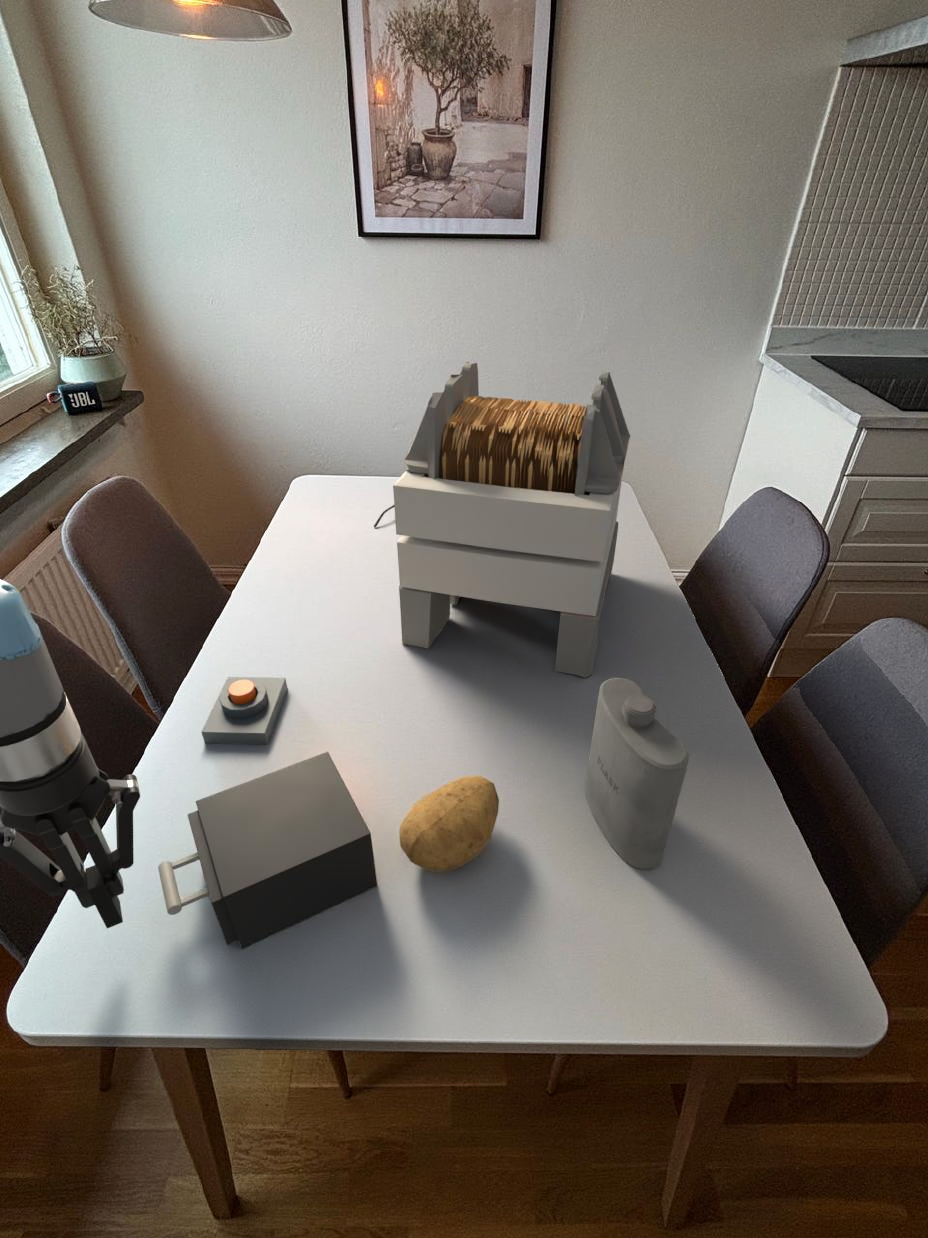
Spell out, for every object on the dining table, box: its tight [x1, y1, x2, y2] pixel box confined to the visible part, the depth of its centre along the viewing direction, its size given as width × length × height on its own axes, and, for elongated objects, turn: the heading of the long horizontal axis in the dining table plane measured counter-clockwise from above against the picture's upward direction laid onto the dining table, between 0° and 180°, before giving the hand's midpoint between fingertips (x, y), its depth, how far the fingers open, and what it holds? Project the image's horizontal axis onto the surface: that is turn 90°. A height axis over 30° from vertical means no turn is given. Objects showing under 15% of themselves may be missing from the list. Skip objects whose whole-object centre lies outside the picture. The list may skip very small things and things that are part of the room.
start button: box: [229, 680, 256, 704], centre depth 99 cm, size 4×4×2 cm
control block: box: [200, 676, 288, 745], centre depth 101 cm, size 12×9×4 cm
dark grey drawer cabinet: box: [195, 751, 378, 950], centre depth 77 cm, size 16×14×10 cm
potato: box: [398, 775, 500, 873], centre depth 81 cm, size 10×14×8 cm
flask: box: [584, 677, 690, 870], centre depth 80 cm, size 15×6×20 cm, turn 17°
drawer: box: [157, 809, 239, 946], centre depth 76 cm, size 19×12×8 cm, turn 119°
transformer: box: [392, 361, 631, 678], centre depth 113 cm, size 34×33×41 cm
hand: (113, 914), depth 70 cm, fingers closed
